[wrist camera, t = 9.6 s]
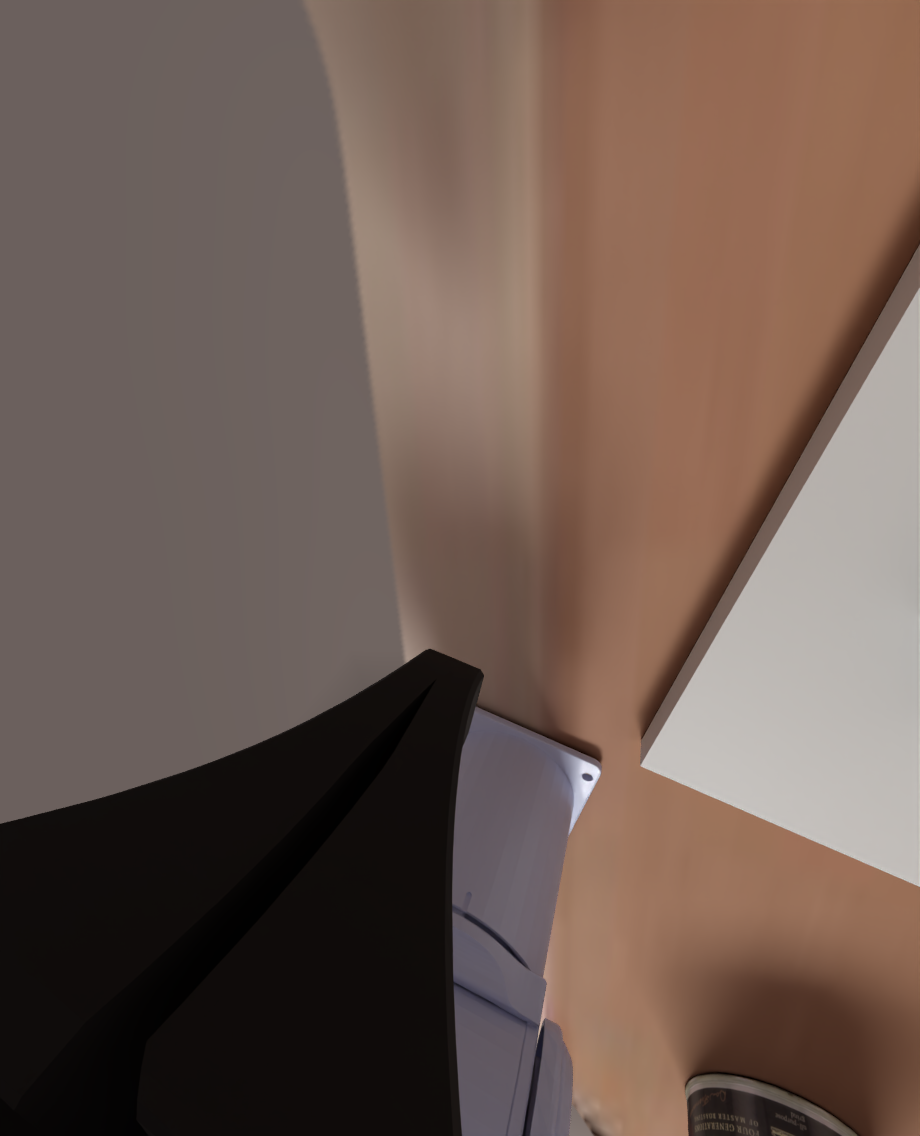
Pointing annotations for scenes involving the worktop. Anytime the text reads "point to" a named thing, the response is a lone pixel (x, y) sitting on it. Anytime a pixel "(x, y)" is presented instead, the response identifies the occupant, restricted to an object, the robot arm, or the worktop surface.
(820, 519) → the socket board
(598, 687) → the worktop surface
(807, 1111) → the coffee can
